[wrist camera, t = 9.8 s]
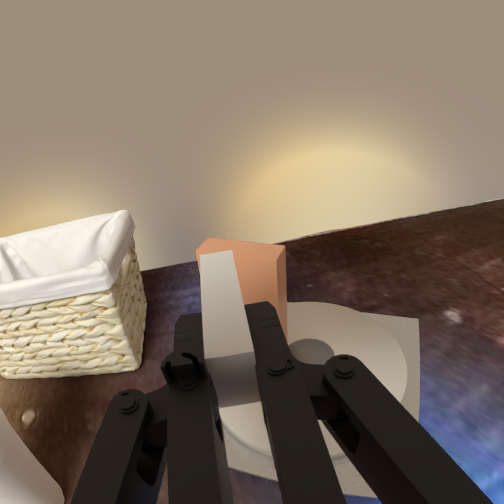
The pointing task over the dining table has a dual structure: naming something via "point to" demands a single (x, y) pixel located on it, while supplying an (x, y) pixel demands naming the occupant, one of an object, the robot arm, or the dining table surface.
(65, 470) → the dining table surface
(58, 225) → the storage basket
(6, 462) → the foam cup
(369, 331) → the dial
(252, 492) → the dining table surface
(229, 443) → the base plate
